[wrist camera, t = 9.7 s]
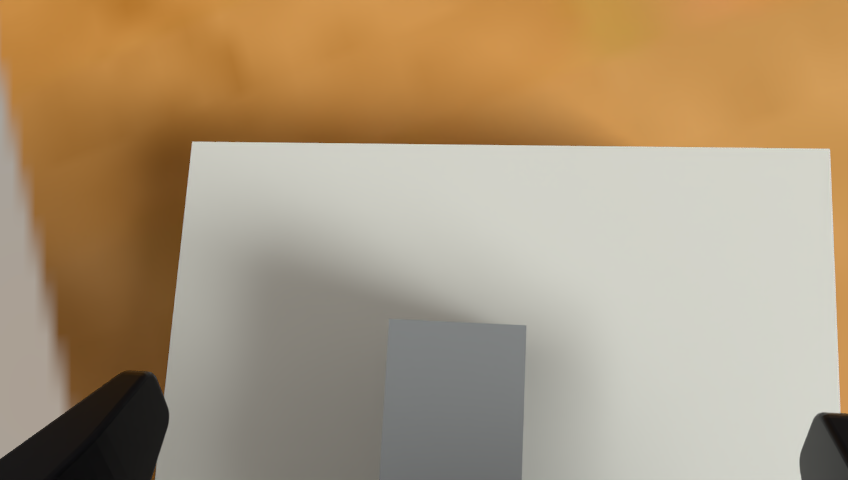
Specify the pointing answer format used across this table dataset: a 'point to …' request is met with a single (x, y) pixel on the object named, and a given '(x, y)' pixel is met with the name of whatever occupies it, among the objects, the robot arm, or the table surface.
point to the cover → (500, 313)
